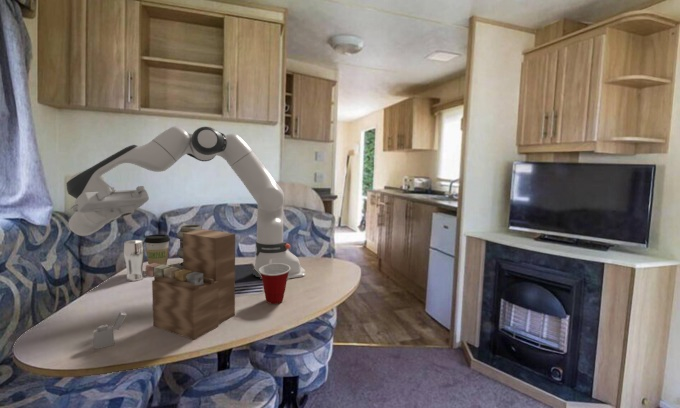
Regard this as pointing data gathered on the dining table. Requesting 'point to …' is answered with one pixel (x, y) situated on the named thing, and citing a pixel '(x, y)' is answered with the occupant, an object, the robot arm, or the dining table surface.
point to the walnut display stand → (198, 286)
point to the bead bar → (174, 273)
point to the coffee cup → (157, 248)
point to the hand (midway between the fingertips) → (127, 188)
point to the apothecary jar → (180, 235)
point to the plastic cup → (274, 281)
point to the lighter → (107, 333)
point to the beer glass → (134, 259)
